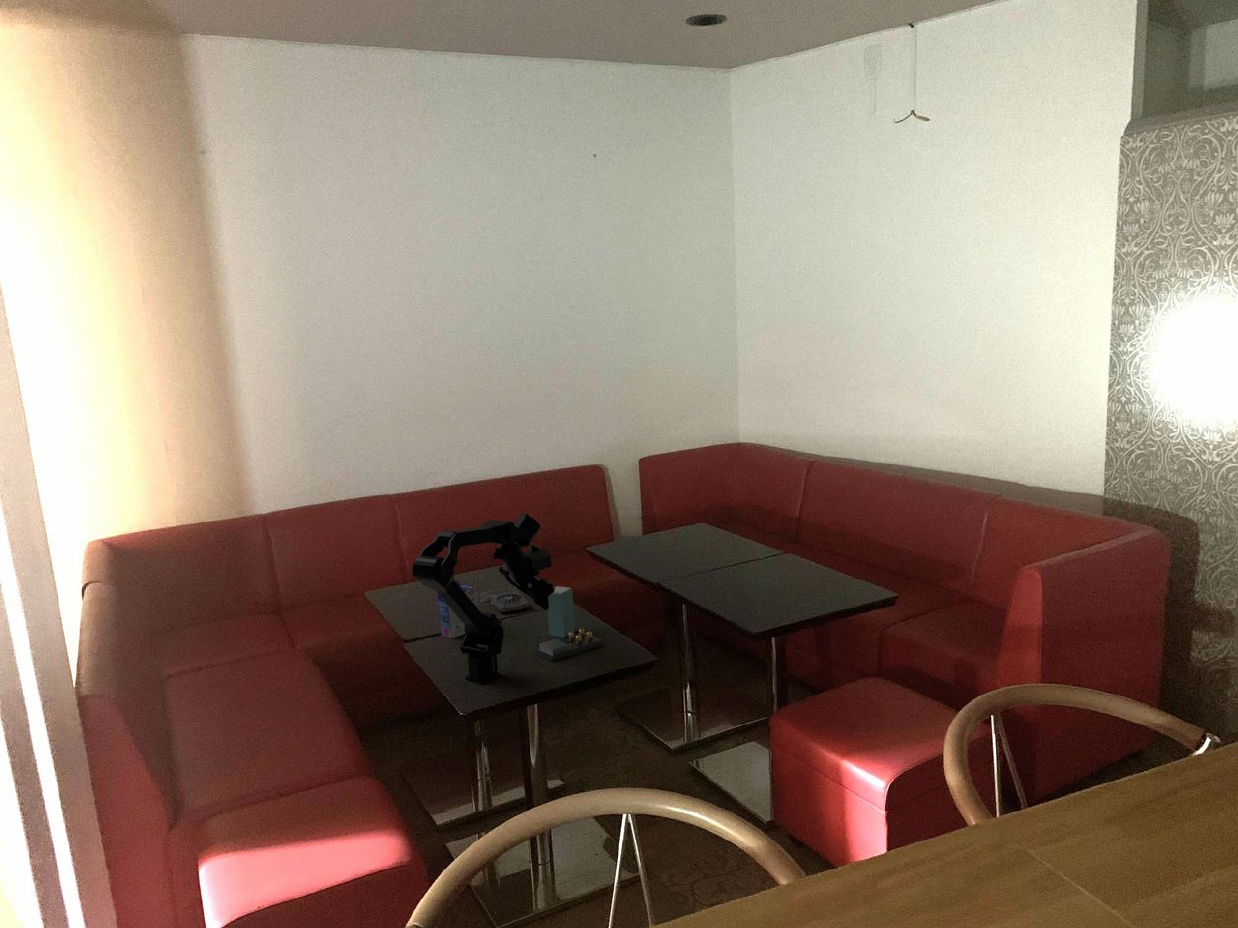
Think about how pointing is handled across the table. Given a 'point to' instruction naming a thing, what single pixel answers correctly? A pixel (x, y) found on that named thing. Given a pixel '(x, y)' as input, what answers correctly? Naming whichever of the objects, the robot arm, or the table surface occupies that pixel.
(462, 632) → the ink cartridge box
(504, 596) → the graphics card
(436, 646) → the table surface
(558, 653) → the chassis
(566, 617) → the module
